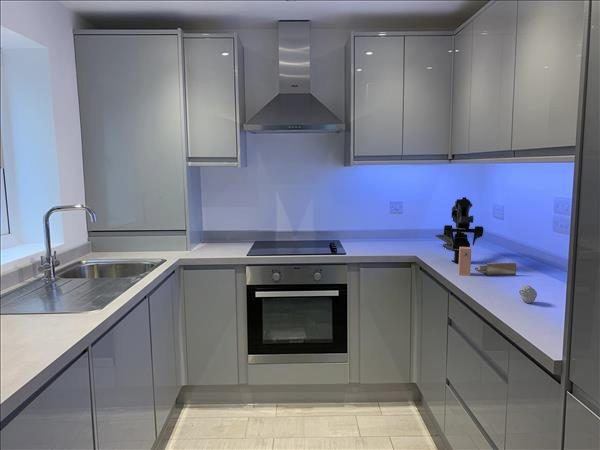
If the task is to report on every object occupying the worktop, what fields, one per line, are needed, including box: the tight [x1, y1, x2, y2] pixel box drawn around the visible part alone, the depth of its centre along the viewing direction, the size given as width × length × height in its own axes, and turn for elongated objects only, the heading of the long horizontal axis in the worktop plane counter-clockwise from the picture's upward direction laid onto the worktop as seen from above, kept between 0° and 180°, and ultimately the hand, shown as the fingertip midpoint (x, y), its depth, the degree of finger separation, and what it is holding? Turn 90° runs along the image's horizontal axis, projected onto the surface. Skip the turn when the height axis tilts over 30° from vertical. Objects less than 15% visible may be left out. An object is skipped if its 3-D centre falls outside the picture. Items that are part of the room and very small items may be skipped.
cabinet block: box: [457, 246, 472, 277], centre depth 219 cm, size 6×5×13 cm
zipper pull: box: [435, 234, 454, 252], centre depth 292 cm, size 9×7×25 cm
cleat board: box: [474, 262, 517, 277], centre depth 223 cm, size 13×14×6 cm
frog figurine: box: [518, 284, 538, 304], centre depth 174 cm, size 6×7×7 cm
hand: (463, 244), depth 226 cm, fingers open, 9 cm apart
